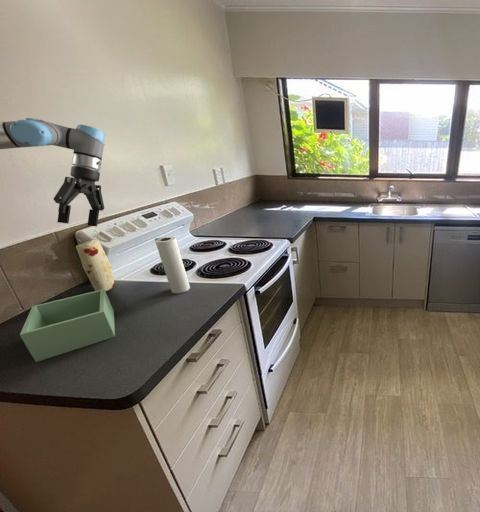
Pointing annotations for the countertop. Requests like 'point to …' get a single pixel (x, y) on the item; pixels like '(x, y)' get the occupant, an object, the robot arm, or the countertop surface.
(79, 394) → the countertop surface
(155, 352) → the countertop surface
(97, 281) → the food model
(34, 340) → the storage bin
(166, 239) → the paper towel roll
